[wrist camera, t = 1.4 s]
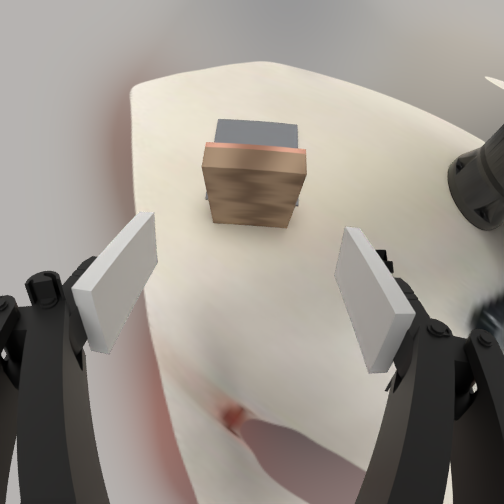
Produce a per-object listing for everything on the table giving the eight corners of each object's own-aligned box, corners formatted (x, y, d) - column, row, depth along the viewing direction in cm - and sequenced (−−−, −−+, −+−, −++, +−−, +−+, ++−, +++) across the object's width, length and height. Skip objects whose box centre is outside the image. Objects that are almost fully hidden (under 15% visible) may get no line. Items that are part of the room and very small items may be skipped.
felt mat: (297, 126, 47) (297, 124, 47) (297, 206, 43) (298, 205, 42) (218, 120, 47) (218, 119, 47) (205, 199, 43) (205, 198, 42)
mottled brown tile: (287, 208, 43) (305, 149, 29) (286, 228, 42) (306, 174, 28) (215, 203, 42) (206, 142, 29) (213, 222, 42) (201, 166, 28)
